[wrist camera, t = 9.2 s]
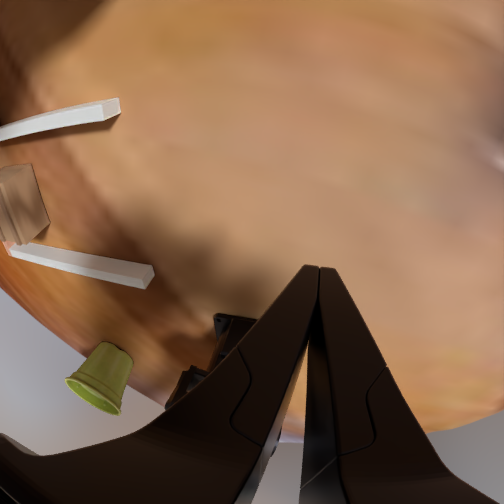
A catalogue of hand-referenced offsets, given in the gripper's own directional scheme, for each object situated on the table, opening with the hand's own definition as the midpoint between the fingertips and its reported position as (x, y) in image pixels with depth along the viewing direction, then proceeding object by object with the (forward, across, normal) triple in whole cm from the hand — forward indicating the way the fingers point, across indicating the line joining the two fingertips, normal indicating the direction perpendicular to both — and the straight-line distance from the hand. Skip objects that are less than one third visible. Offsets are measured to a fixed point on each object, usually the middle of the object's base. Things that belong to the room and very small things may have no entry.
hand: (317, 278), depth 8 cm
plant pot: (+12, +26, +32) cm, 43 cm away
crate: (+12, +30, +5) cm, 32 cm away
